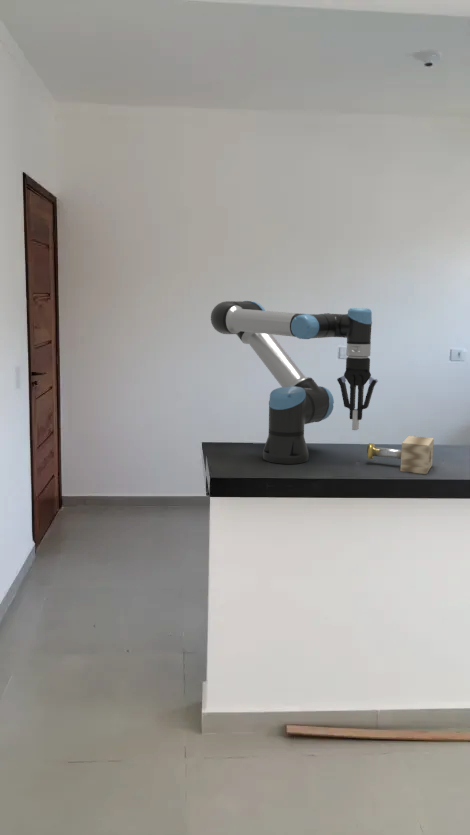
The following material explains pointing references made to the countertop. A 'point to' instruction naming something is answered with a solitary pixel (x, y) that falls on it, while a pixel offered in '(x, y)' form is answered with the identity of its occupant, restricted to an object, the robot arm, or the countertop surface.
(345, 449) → the countertop surface
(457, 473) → the countertop surface
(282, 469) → the countertop surface
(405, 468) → the bore block
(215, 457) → the countertop surface
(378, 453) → the pin
